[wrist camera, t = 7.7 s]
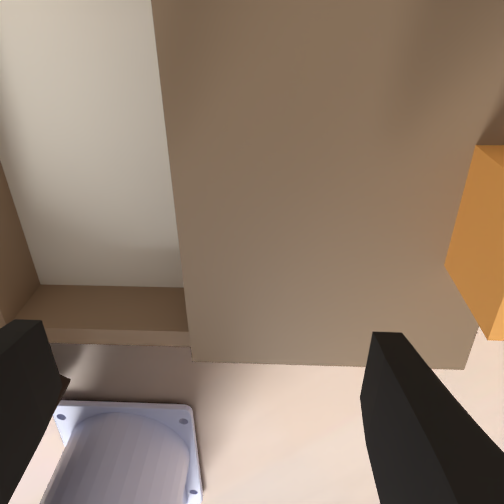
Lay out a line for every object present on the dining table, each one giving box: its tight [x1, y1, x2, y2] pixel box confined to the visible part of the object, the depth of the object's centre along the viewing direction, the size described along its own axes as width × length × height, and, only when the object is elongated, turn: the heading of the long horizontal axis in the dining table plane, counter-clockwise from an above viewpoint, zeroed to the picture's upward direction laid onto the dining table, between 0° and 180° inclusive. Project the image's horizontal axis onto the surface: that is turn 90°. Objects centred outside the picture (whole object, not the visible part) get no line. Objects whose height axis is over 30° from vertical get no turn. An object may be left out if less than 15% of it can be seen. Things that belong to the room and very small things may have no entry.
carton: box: [0, 0, 190, 347], centre depth 16 cm, size 13×10×4 cm
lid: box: [151, 0, 504, 370], centre depth 12 cm, size 13×10×4 cm
